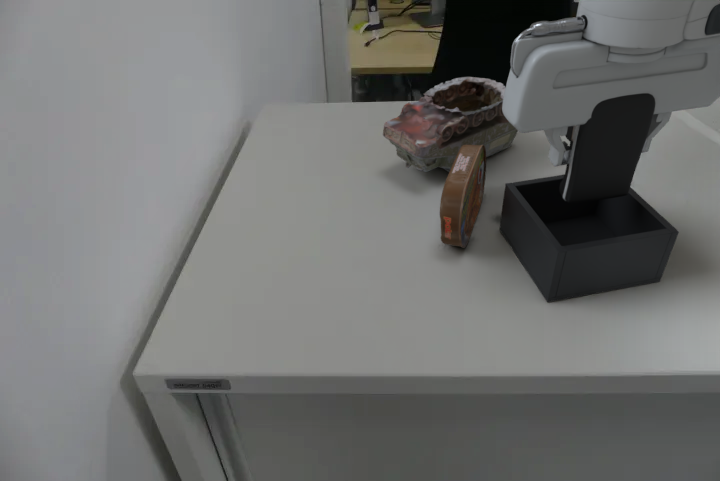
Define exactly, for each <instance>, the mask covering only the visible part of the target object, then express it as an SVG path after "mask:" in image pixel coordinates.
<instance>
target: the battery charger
mask: <svg viewBox="0 0 720 481" xmlns="http://www.w3.org/2000/svg"><path fill="white" fill-rule="evenodd" d="M654 110H655V98H654V97H653V95H651V94H649V93H641V94H633V95H626V96H620V97H615V98H611V99H607V100H604V101H601V102H600V103H598V104H597V105H596V106H595V107H594V109H593V112H592V115H591V118H590V119H588V121H587V122H586V123H585V124H583V125H576V126H569V127H568V130H567V134H566V135H565V136H564V137H565V138H566V139H567V141H569V146H570V147H571V148H572V156H571V162H570V164H566V167H565V172H564V174H565V175H564V174H563V175H564V177H563V180H562V181H561V183H560V187H559V191H560V194H561V195H562V196H563V199H564V200H565V201H567V202H568V203H578V202H587V201H596V200H603V199H609V198H616V197H621V196H626V195H628V193H629V190H630V187H631V186H632V182H633V179H634V176H635V172H636V168H637V166H638V164H639V161H640V158H641V156H642V154H643V153H642V150H643V147H644V144H645V141H646V138H647V135H648V132H649V128H650V125H651V121H652V118H653V114H654Z"/></svg>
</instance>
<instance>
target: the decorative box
mask: <svg viewBox="0 0 720 481" xmlns="http://www.w3.org/2000/svg"><path fill="white" fill-rule="evenodd" d="M433 86H434V87H431V88H429V90H426V91H425V92H424V93H423V95H424V96H422V97H420V98H419V99H418V100H417V101H415V102H412V101H411V102H407V103H405V104H403V107H402V108H401V111H400V114H399V115H398V116H397V117H393V118H391V119H390V120H387V121H385V122H384V123H383V131H382V136H383V137H384V138H385V139H387V140H388V141H389V143H390V144H391V145H393V146H394V147H395V151H396V156H397V157H399V158H400V159H402V160H403V161H405V168H406V169H410V167H413V168H415V169H416V170H418V171H420V172H421V171H422V172H424V173H425V172H426V173H427V172H429V171H433V170H434V169H437V168H440V169H443V170H445V171H446V172H448V173H449V172H450V169H451V167H452V165H453V163H454V160H455V158H456V156H457V154H458V152H459V149H460V148H461V147H462V146H463V145H484V146H485V148H486V158H488V157H490V156H493V155H494V154H497V153H499V152H501V151H503V150H505V149H508V148H510V147H512V144H513V142H514V140H515V139H516V137H517V134H518V132H519V131H518V130H517V129H516V128H515V127H514V126H513V125H512V124H510V122H509V121H508V120H507V119H506V117H505V116H504V114H503V111H502V104H503V98H504V93H505V88H506V85H504V83H502V82H498V81H496V79H495V80H494V79H491V78H485V77H476V76H475V77H474V76H461V77H455V78H453V79H451V80H446V81H445V82H440V83H439V84H437V85H433Z"/></svg>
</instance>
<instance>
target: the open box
mask: <svg viewBox="0 0 720 481" xmlns="http://www.w3.org/2000/svg"><path fill="white" fill-rule="evenodd" d="M564 175H565V173H564V174H559V175H553V176H545V177H539V178H533V179H527V180H520V181H513V182H506V183H505V185H504V193H503V199H502V207H501V215H500V223H499V232H500V233H501V235H502V236H503V238H504V239H505V241H506V242H507V244H508V245H509V247H510V248H511V250H512V251H513V253H514V255H515V256H516V258H517V259H518V260H519V262H520V263H521V265H522V267H523V268H524V269H525V271H526V272H527V274H528V275H529V277H530V279H531V280H532V282H533V283H534V284H535V286H536V287H537V290H539V292H540V293H541V295H542V297H543V298H544V300H545V301H546V302H547V303H552V302H557V301H561V300H568V299H572V298H579V297H584V296H590V295H594V294H600V293H605V292H611V291H616V290H621V289H627V288H633V287H638V286H644V285H648V284H654V283H655V284H656V283H659V282H661V280H662V278H663V275H664V272H665V270H666V267H667V264H668V261H669V259H670V258H671V254H672V251H673V248H674V246H675V243H676V241H677V238H678V235H679V233H680V231H679V230H678V229H677V228H676V227H675V226H674V225H672V224H671V223H670V222H669V221H668V220H667V219H666V218H665V217H664V216H662V215H661V213H659V212H658V210H656V209H655V208H654V207H653V206H652V205H651V204H650V203H648V201H646V199H644V198H643V197H642V196H641V195H640V194H639V193H637V191H636V190H634V189H633V188H632V187H631V186H630V190H629V193H628V195H626V196H621V197H616V198H609V199H603V200H596V201H587V202H578V203H568V202H567V201H565V200H564V199H563V196H562V195H561V194H560V191H559V187H560V183H561V181H562V180H563V177H564Z"/></svg>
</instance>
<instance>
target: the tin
mask: <svg viewBox="0 0 720 481" xmlns="http://www.w3.org/2000/svg"><path fill="white" fill-rule="evenodd" d="M486 171H487V157H486V148H485V146H484V145H463V146H462V147H461V148H460V149H459V152H458V154H457V156H456V158H455V160H454V163H453V165H452V167H451V169H450V172H448V174H447V177H446V179H445V181H444V184H443V188H442V192H441V197H440V203H439V218H440V241H441V243H442V244H444V245H448V246H454V247H461V248H466V247H467V246H468V243H469V241H470V238H471V236H472V233H473V229H474V226H475V224H476V220H477V218H478V215H479V212H480V209H481V206H482V201H483V197H484V190H485V184H486V173H487V172H486Z"/></svg>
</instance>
